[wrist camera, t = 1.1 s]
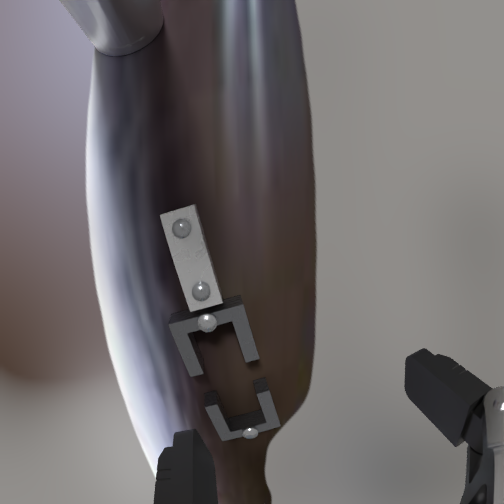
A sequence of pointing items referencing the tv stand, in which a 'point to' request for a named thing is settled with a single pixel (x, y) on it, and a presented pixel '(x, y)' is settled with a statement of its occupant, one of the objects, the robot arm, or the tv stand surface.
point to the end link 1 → (207, 321)
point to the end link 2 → (244, 423)
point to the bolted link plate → (192, 257)
